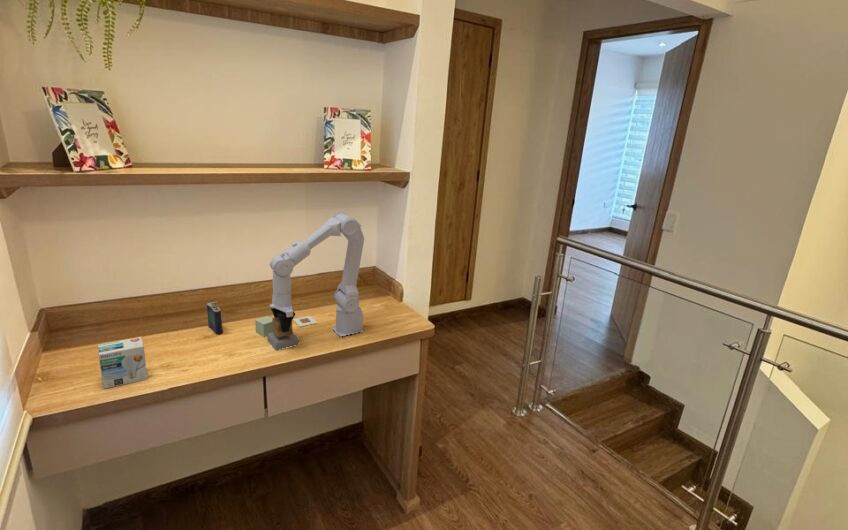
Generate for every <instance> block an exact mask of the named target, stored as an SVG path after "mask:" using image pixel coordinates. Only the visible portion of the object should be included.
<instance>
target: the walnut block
mask: <svg viewBox="0 0 848 530" xmlns="http://www.w3.org/2000/svg"><path fill="white" fill-rule="evenodd" d="M271 318H272V317H271ZM272 321H273V332H274V333H275V335H276V336H277V337H283V336H287V335H291V334H292V332H293V321H292V322H291V325H290V329H289V331H288V332H282V329H281V323H280V320H279V318H278V317H276V318H274V317H273V318H272Z"/></svg>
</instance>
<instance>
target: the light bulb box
mask: <svg viewBox="0 0 848 530" xmlns="http://www.w3.org/2000/svg"><path fill="white" fill-rule="evenodd" d="M97 346H98V361H99V368H100V374H101V380H102V385H103V387H102V388H103V389H104V390H105V389H109V388H113V387H119V386H123V385H124V386H125V385H127V384H131V383H136V382H137V383H138V382H141V381H146V380H148V375H147V364H146V354H145V353H146V352H145V346H144V342H143V338H142V337H141V336H138V337H133V338H127V339H122V340H117V341H112V342H105V343H101V344H98V345H97Z"/></svg>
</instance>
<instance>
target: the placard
mask: <svg viewBox="0 0 848 530" xmlns="http://www.w3.org/2000/svg"><path fill="white" fill-rule="evenodd" d="M292 322H294V323H295V324H296V325H297V326H298V327H299V328H302V326H303V327H307V326H311V324H312V325H316V323H317V324H318V321H316V320H315V318H314V317H312V316H311V315H307V316H301V317H297V318H296V317H295V318H293V319H292ZM306 325H307V326H306Z"/></svg>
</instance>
